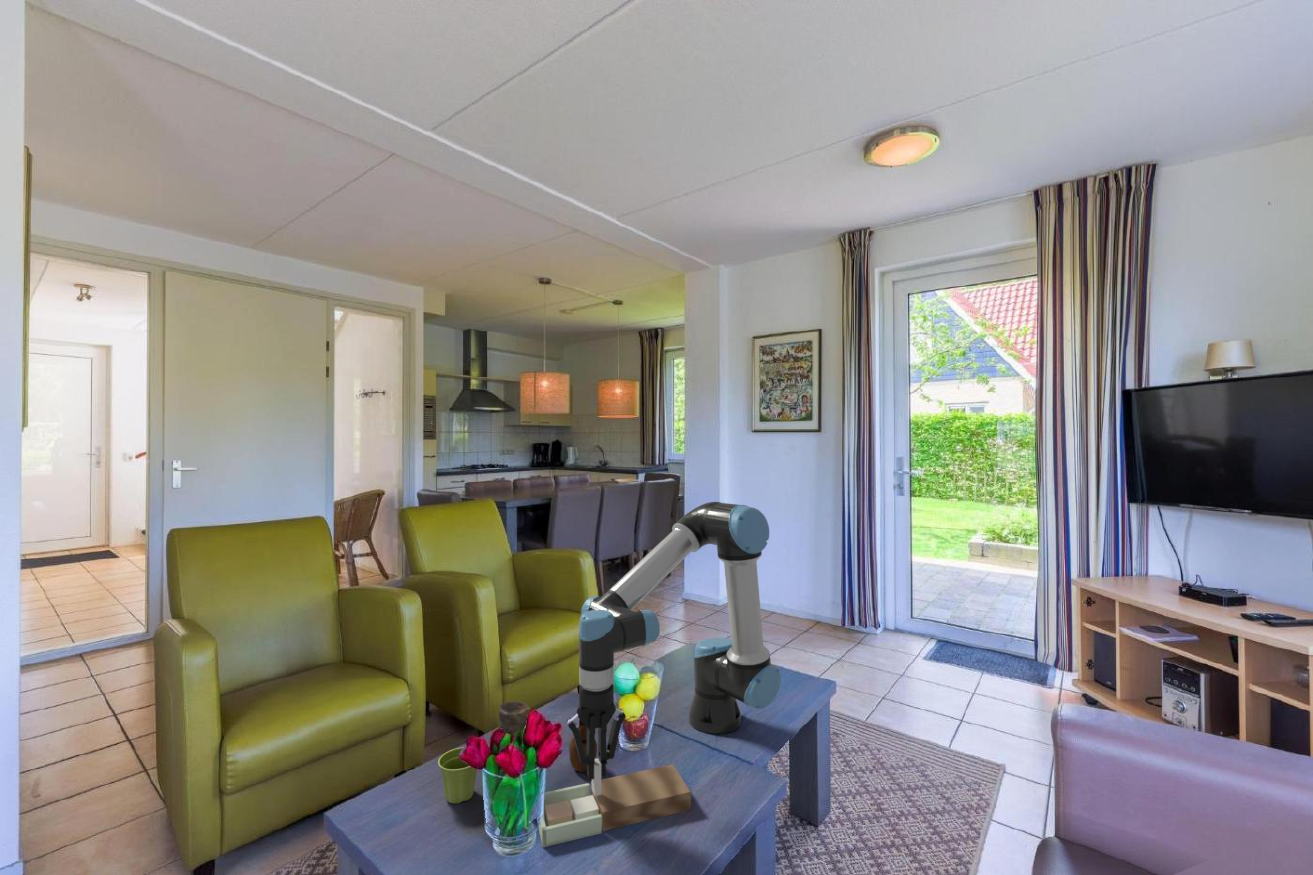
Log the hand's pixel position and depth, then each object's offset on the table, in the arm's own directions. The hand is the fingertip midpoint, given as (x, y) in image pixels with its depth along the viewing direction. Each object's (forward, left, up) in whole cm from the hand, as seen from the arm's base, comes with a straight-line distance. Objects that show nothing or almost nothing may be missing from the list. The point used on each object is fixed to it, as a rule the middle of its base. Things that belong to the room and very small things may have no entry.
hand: (596, 791), depth 123 cm
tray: (+7, 0, -5) cm, 8 cm away
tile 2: (+3, 0, -5) cm, 5 cm away
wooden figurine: (-1, -18, -5) cm, 19 cm away
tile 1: (+8, 0, -2) cm, 9 cm away
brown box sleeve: (-10, 0, -5) cm, 11 cm away
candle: (+16, -14, -5) cm, 22 cm away
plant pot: (+28, -17, -5) cm, 33 cm away
